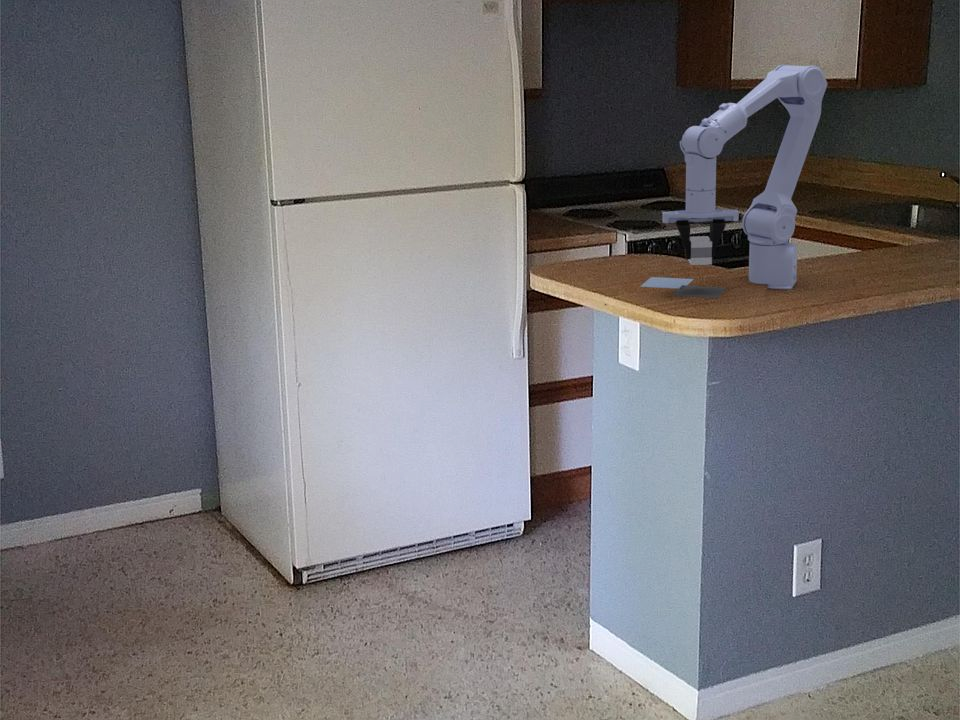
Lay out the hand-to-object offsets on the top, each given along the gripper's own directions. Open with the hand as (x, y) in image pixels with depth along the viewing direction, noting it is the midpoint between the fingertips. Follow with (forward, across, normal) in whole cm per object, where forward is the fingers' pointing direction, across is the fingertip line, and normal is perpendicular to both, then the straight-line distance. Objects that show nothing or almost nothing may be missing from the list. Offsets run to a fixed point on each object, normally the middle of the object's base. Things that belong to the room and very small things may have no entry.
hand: (699, 258), depth 238 cm
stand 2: (+8, 0, 0) cm, 8 cm away
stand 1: (+8, +6, -8) cm, 13 cm away
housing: (+1, 0, 0) cm, 1 cm away
